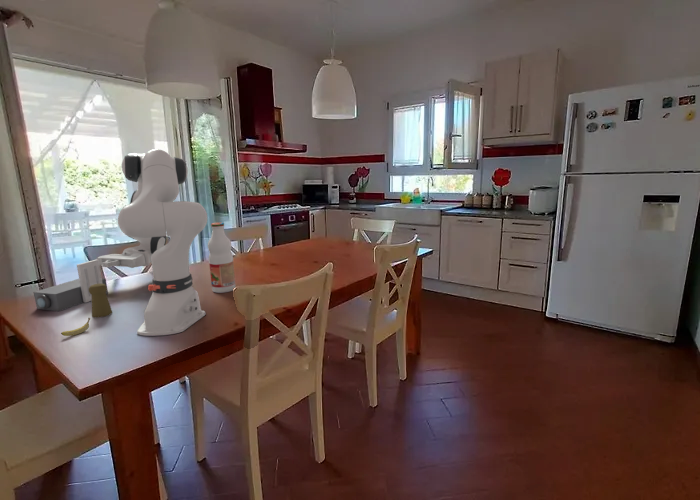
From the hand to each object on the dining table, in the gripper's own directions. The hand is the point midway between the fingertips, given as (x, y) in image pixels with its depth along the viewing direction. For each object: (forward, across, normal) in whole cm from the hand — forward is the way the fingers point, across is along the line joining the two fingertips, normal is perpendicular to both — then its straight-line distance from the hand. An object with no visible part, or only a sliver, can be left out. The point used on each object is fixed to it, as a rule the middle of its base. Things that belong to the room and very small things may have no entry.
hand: (104, 265), depth 149 cm
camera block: (+9, -7, +12) cm, 17 cm away
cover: (+6, 0, +12) cm, 14 cm away
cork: (+18, +17, +13) cm, 28 cm away
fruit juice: (-16, +44, +13) cm, 48 cm away
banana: (+32, +24, +13) cm, 42 cm away
